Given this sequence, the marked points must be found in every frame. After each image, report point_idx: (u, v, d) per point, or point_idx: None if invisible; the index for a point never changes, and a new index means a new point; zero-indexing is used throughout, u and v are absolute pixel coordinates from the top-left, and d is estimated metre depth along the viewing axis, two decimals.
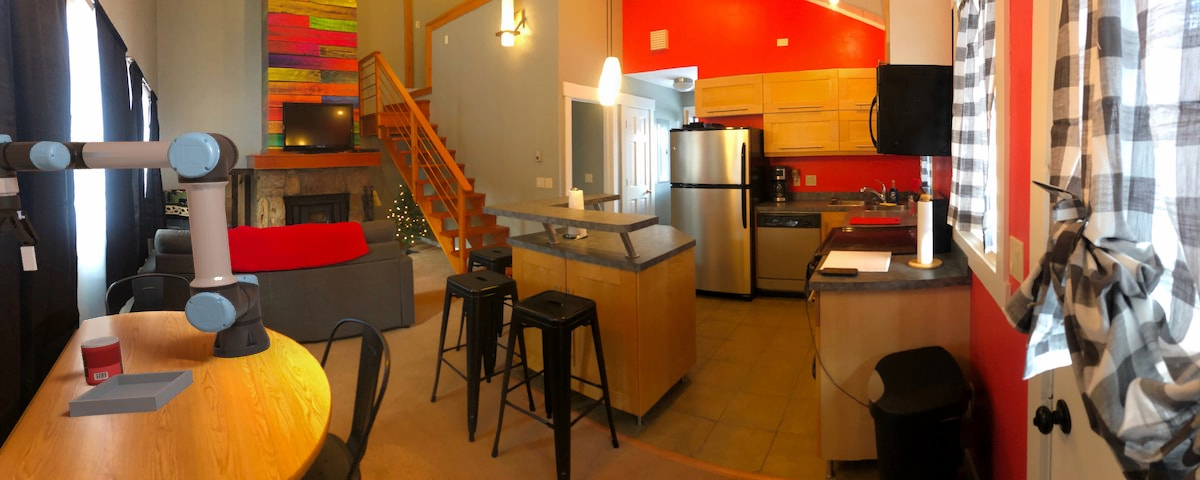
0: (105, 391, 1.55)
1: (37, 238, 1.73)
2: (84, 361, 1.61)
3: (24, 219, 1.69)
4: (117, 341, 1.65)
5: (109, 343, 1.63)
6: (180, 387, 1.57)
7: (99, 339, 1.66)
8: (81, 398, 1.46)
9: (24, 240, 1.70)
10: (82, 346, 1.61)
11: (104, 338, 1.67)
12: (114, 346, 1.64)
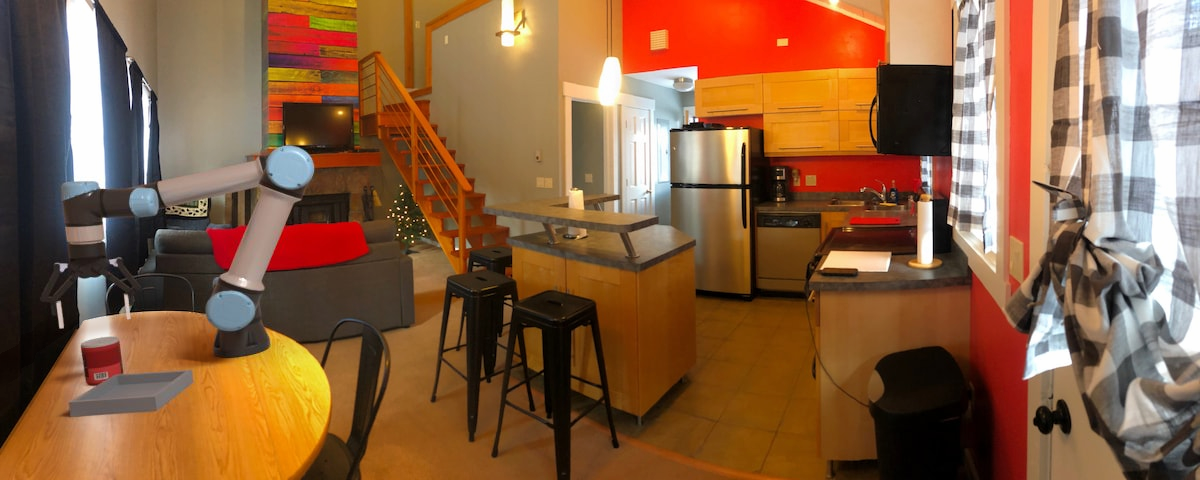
0: (105, 391, 1.55)
1: (136, 286, 1.67)
2: (84, 361, 1.61)
3: None
4: (117, 341, 1.65)
5: (109, 343, 1.63)
6: (180, 387, 1.57)
7: (99, 339, 1.66)
8: (81, 398, 1.46)
9: (121, 288, 1.66)
10: (82, 346, 1.61)
11: (104, 338, 1.67)
12: (114, 346, 1.64)
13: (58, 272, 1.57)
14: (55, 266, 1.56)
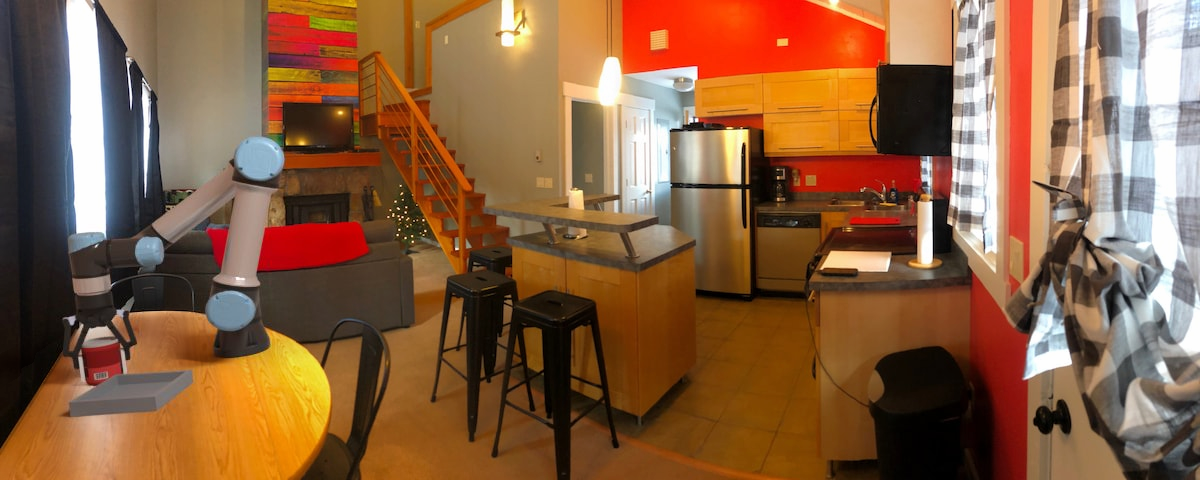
0: (105, 391, 1.55)
1: (133, 341, 1.68)
2: (84, 361, 1.61)
3: (123, 318, 1.66)
4: (117, 341, 1.65)
5: (109, 343, 1.63)
6: (180, 387, 1.57)
7: (99, 339, 1.66)
8: (81, 398, 1.46)
9: (119, 341, 1.67)
10: (82, 346, 1.61)
11: (104, 338, 1.67)
12: (114, 345, 1.64)
13: (69, 326, 1.59)
14: (64, 321, 1.58)
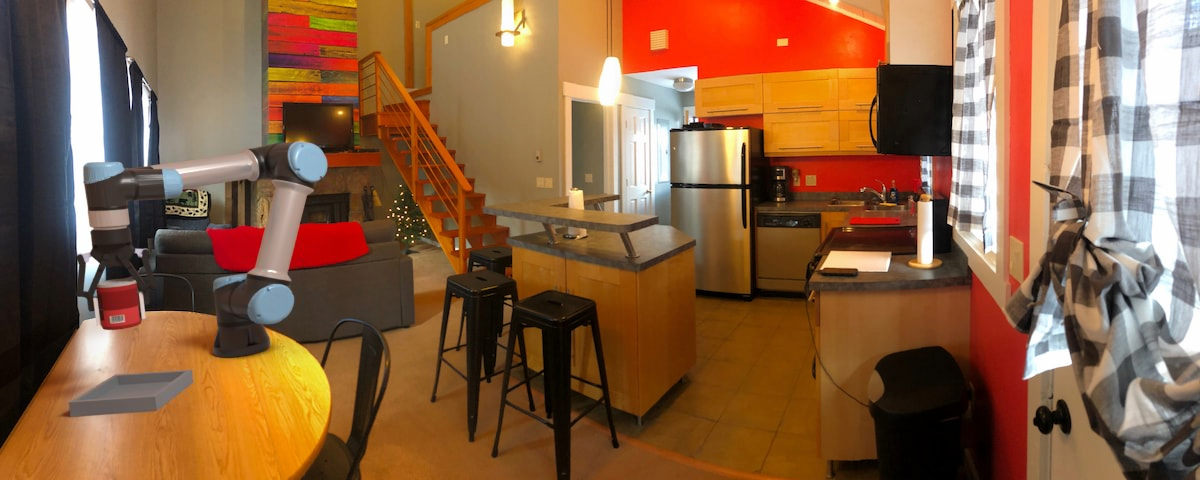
0: (105, 391, 1.55)
1: (153, 283, 1.54)
2: (99, 302, 1.47)
3: (142, 258, 1.52)
4: (135, 282, 1.51)
5: (126, 283, 1.49)
6: (180, 387, 1.57)
7: (116, 280, 1.52)
8: (81, 398, 1.46)
9: (137, 283, 1.53)
10: (97, 286, 1.47)
11: (121, 280, 1.53)
12: (131, 287, 1.50)
13: (83, 263, 1.45)
14: (78, 258, 1.44)
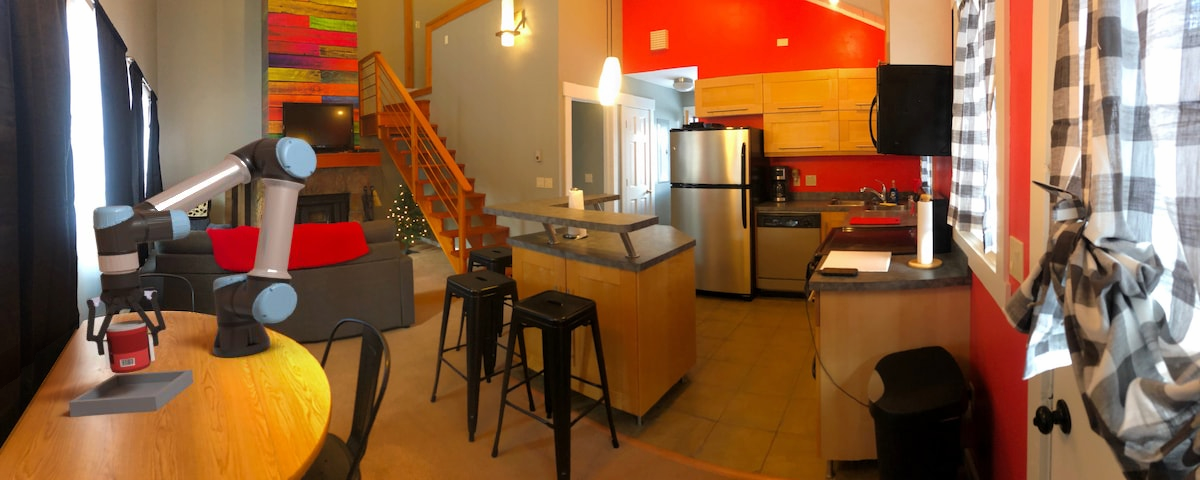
0: (105, 391, 1.55)
1: (162, 325, 1.54)
2: (109, 346, 1.48)
3: (151, 300, 1.53)
4: (145, 325, 1.52)
5: (136, 327, 1.49)
6: (180, 387, 1.57)
7: (125, 323, 1.53)
8: (81, 398, 1.46)
9: None
10: (107, 330, 1.47)
11: (130, 322, 1.53)
12: (141, 330, 1.51)
13: (93, 308, 1.46)
14: (88, 302, 1.45)
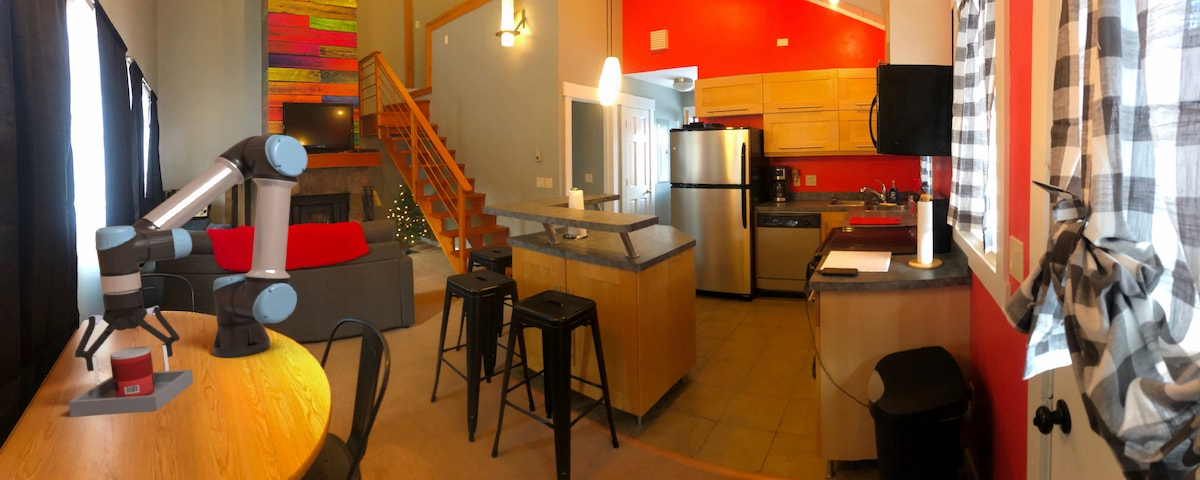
0: (105, 391, 1.55)
1: (175, 336, 1.56)
2: (114, 374, 1.49)
3: (156, 316, 1.54)
4: (149, 352, 1.53)
5: (140, 354, 1.51)
6: (180, 387, 1.57)
7: (129, 349, 1.54)
8: (81, 398, 1.46)
9: None
10: (112, 357, 1.48)
11: (134, 348, 1.55)
12: (145, 357, 1.52)
13: (93, 325, 1.46)
14: (90, 319, 1.45)
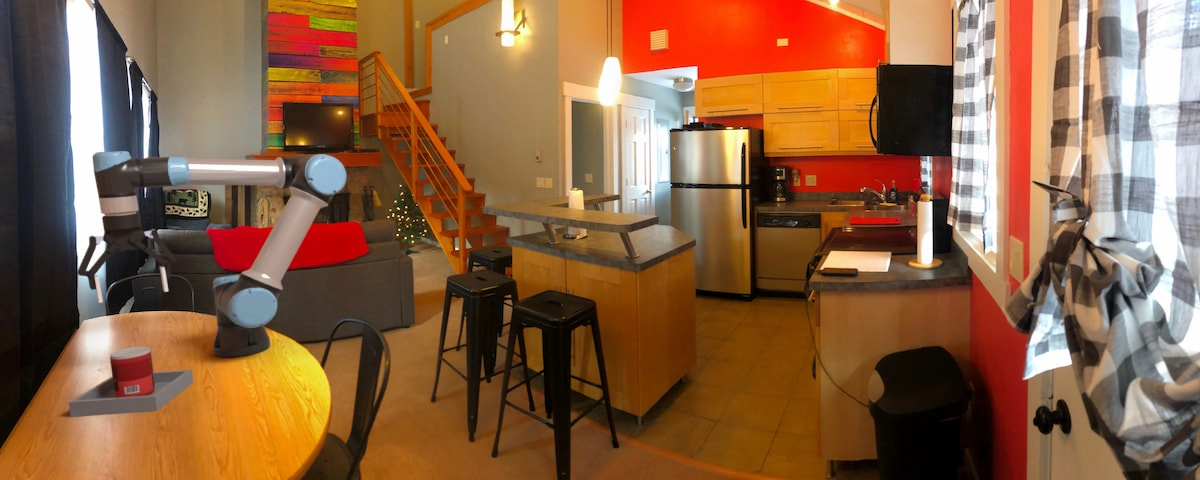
0: (105, 391, 1.55)
1: (173, 258, 1.64)
2: (114, 374, 1.49)
3: (154, 239, 1.61)
4: (149, 352, 1.53)
5: (140, 354, 1.51)
6: (180, 387, 1.57)
7: (129, 349, 1.54)
8: (81, 398, 1.46)
9: (157, 260, 1.63)
10: (112, 357, 1.48)
11: (134, 348, 1.55)
12: (145, 357, 1.52)
13: (95, 245, 1.53)
14: (91, 239, 1.52)
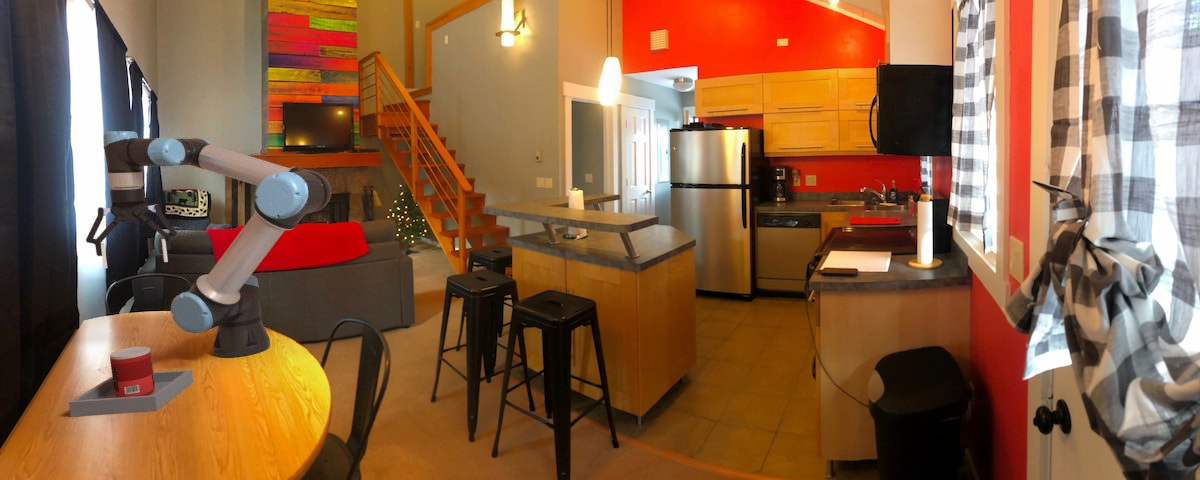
0: (105, 391, 1.55)
1: (173, 231, 1.79)
2: (114, 374, 1.49)
3: (156, 212, 1.76)
4: (149, 352, 1.53)
5: (140, 354, 1.51)
6: (180, 387, 1.57)
7: (129, 349, 1.54)
8: (81, 398, 1.46)
9: (158, 232, 1.77)
10: (112, 357, 1.48)
11: (134, 348, 1.55)
12: (145, 357, 1.52)
13: (102, 215, 1.68)
14: (99, 210, 1.68)
